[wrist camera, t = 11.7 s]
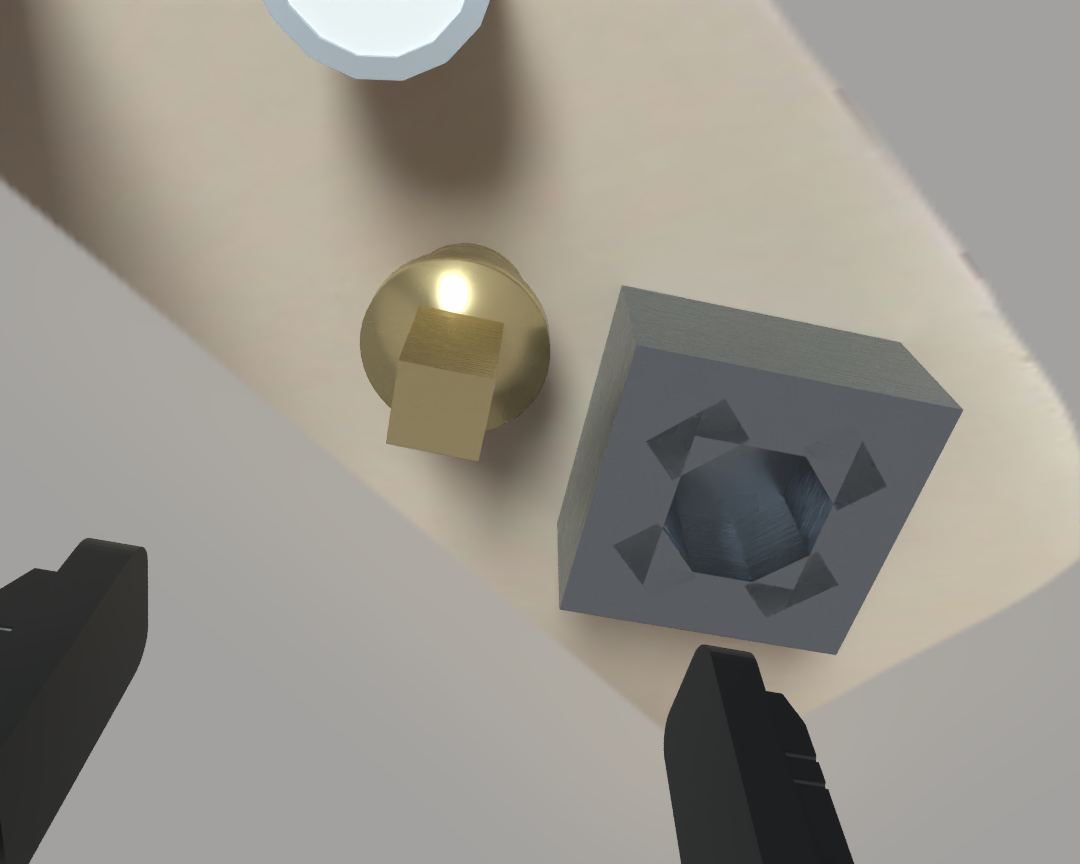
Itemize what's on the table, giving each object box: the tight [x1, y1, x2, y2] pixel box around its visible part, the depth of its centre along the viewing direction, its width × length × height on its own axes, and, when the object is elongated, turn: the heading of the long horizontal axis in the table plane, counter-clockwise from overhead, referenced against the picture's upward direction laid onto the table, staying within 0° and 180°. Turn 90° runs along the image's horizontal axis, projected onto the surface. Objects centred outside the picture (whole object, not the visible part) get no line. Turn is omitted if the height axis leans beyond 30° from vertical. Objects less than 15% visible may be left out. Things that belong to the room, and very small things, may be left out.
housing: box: [557, 286, 963, 655], centre depth 35 cm, size 12×12×6 cm
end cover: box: [360, 244, 550, 461], centre depth 30 cm, size 7×7×9 cm
